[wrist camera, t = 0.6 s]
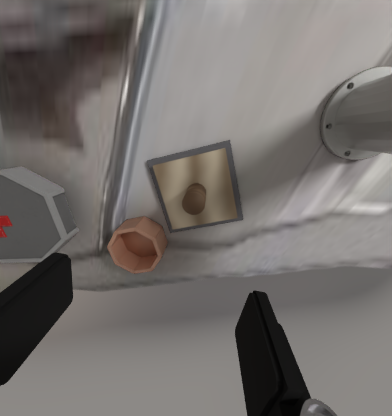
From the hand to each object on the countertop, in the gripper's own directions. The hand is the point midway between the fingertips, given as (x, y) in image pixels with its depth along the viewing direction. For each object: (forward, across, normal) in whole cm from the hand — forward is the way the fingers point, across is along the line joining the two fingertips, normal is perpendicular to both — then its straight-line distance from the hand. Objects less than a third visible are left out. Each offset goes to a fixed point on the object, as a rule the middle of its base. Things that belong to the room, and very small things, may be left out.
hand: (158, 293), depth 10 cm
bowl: (+28, +8, +15) cm, 32 cm away
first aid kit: (+29, +33, +13) cm, 46 cm away
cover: (+26, -1, +2) cm, 26 cm away
